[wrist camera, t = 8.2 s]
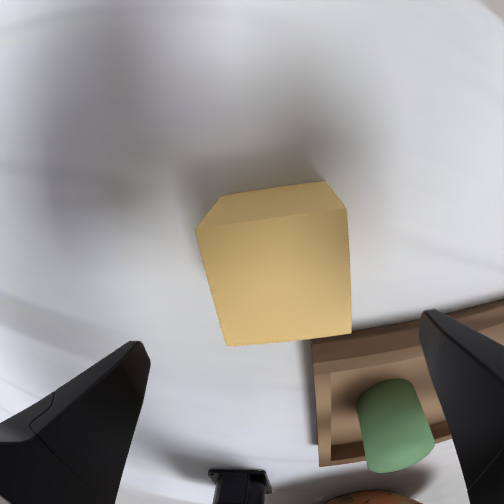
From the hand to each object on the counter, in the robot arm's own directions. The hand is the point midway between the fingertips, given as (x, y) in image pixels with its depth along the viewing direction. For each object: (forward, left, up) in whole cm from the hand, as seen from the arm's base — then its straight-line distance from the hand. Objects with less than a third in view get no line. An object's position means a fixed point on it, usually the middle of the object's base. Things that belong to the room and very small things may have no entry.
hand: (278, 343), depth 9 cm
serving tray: (-14, -11, -9) cm, 20 cm away
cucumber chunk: (-14, -7, -8) cm, 17 cm away
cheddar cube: (0, 0, -9) cm, 9 cm away
